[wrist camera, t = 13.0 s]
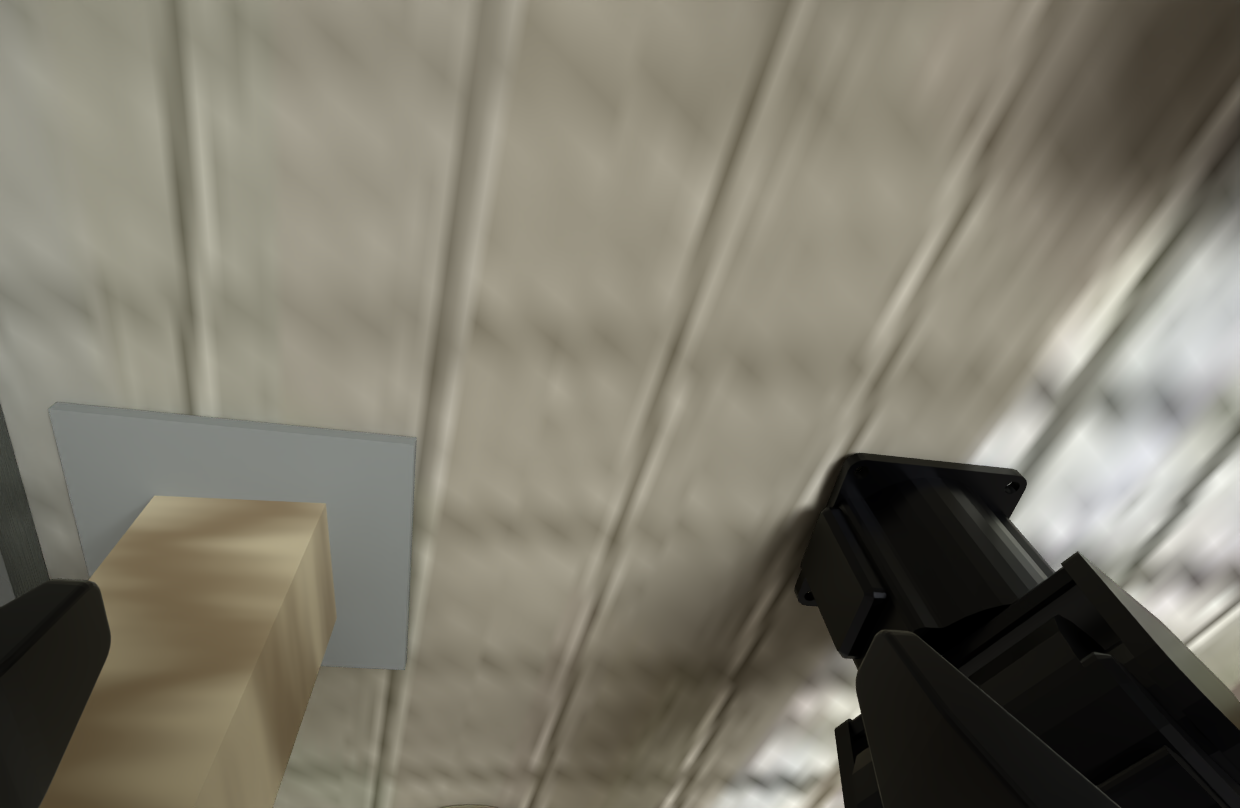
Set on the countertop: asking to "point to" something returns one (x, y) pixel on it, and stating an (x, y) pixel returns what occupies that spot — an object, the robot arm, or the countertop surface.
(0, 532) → the frame
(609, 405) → the countertop surface
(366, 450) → the mat
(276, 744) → the tan wooden block
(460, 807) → the alcohol
